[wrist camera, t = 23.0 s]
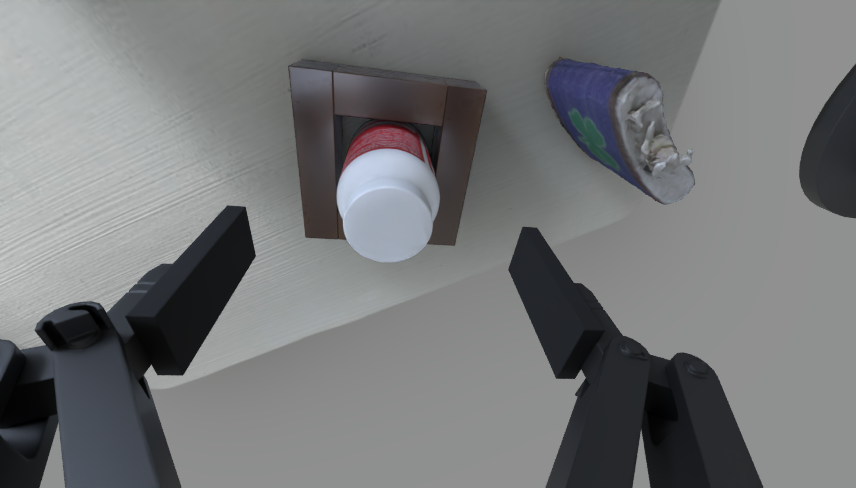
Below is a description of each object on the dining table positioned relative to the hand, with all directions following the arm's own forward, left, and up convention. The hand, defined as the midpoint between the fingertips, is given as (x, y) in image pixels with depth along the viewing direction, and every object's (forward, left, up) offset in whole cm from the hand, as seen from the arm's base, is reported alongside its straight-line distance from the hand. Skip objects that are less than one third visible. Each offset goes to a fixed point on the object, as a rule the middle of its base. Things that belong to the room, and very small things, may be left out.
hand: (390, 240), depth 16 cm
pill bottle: (0, 0, -12) cm, 12 cm away
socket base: (0, 0, -12) cm, 12 cm away
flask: (-14, -5, -12) cm, 20 cm away
